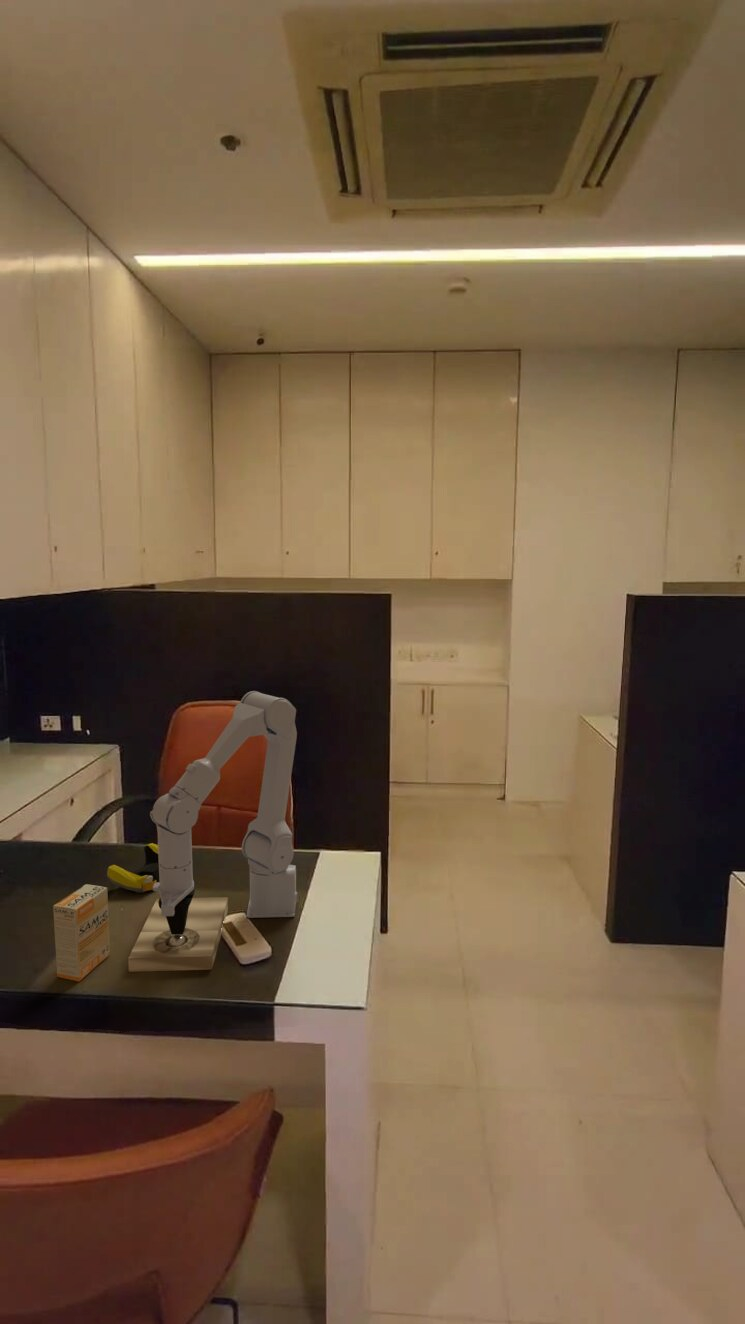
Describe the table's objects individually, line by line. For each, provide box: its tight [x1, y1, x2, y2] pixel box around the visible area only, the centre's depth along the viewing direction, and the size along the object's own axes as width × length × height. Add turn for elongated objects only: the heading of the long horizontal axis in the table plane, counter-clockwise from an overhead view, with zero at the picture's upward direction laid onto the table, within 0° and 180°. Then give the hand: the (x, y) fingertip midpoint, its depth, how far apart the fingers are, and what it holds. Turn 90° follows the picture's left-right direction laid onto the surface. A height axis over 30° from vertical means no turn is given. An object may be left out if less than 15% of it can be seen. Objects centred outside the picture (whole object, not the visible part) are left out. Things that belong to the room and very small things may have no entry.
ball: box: [168, 935, 187, 947], centre depth 121 cm, size 3×3×3 cm
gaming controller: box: [106, 842, 159, 894], centre depth 147 cm, size 15×6×10 cm
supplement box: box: [52, 883, 111, 983], centre depth 116 cm, size 8×5×13 cm, turn 164°
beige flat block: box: [127, 896, 229, 973], centre depth 126 cm, size 20×14×2 cm
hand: (178, 932), depth 122 cm, fingers closed
